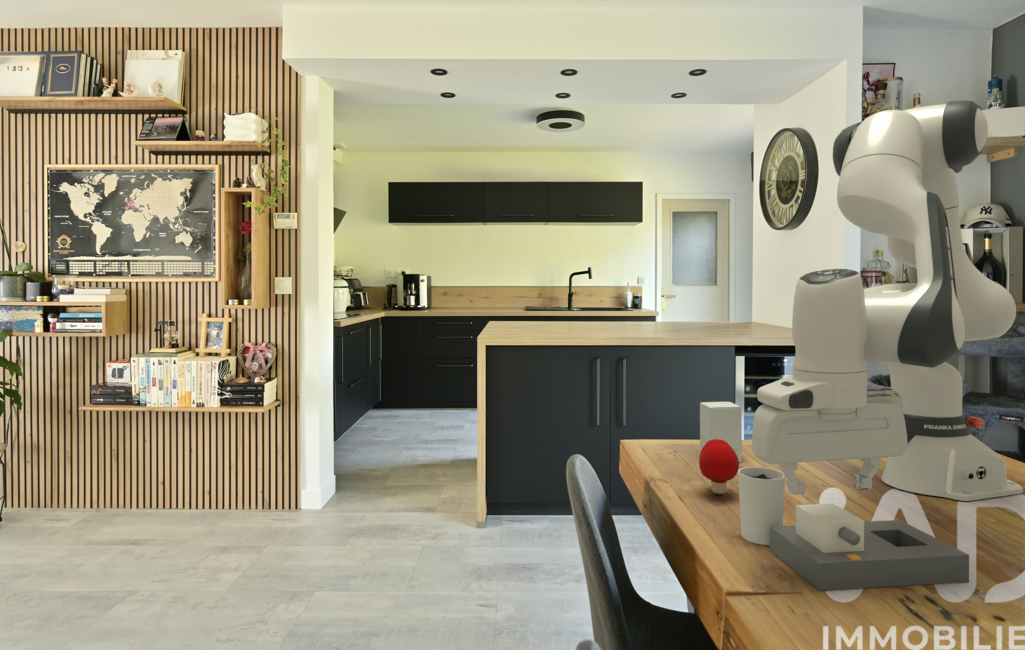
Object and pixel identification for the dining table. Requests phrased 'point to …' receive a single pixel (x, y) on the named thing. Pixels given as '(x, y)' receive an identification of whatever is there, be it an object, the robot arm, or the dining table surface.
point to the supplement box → (721, 424)
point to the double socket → (874, 558)
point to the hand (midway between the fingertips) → (829, 491)
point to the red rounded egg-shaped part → (718, 464)
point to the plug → (830, 528)
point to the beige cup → (760, 502)
